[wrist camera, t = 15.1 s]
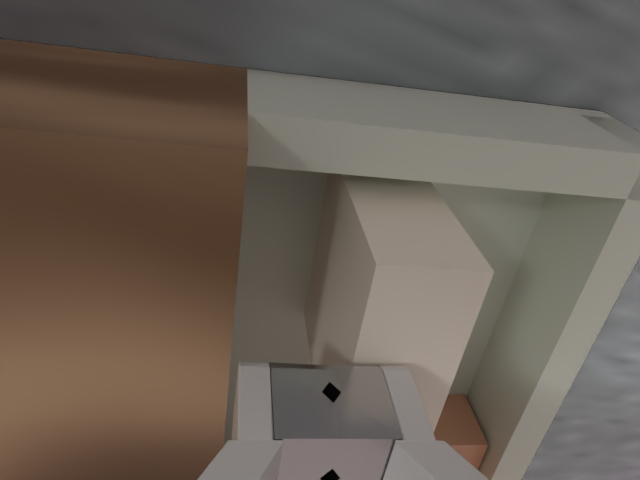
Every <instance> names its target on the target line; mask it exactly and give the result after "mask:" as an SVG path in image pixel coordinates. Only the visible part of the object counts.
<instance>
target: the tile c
mask: <svg viewBox="0 0 640 480" xmlns="http://www.w3.org/2000/svg"><path fill="white" fill-rule="evenodd" d="M434 436H435V439H436V440H437V441H445V442H447V443H448V444H451V446H452V448H453V449H454V450H456V451H457V452H458V453H459V454H460V455H461V456H462V457H464V458H465V459H466V460H467V461H468V462H469V463H470V464H472V465H473V466H474V467H475V468H476V469H477V470H478V468H479V466H480V463H481V461H482V459H483V456H484V454H485V452H486V449H487V447H488V443H487V441H486V439H485V436H484V434H483V432H482V430H481V428H480V426H479V423H478V421H477V419H476V417H475V415H474V413H473V410H472V408H471V406H470V404H469V402H468V400H467V397H466V395H465V394H448V396H447V399H446V401H445V404H444V407H443V409H442V412H441V415H440V417H439V420H438V423H437V425H436V428H435V431H434Z"/></svg>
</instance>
